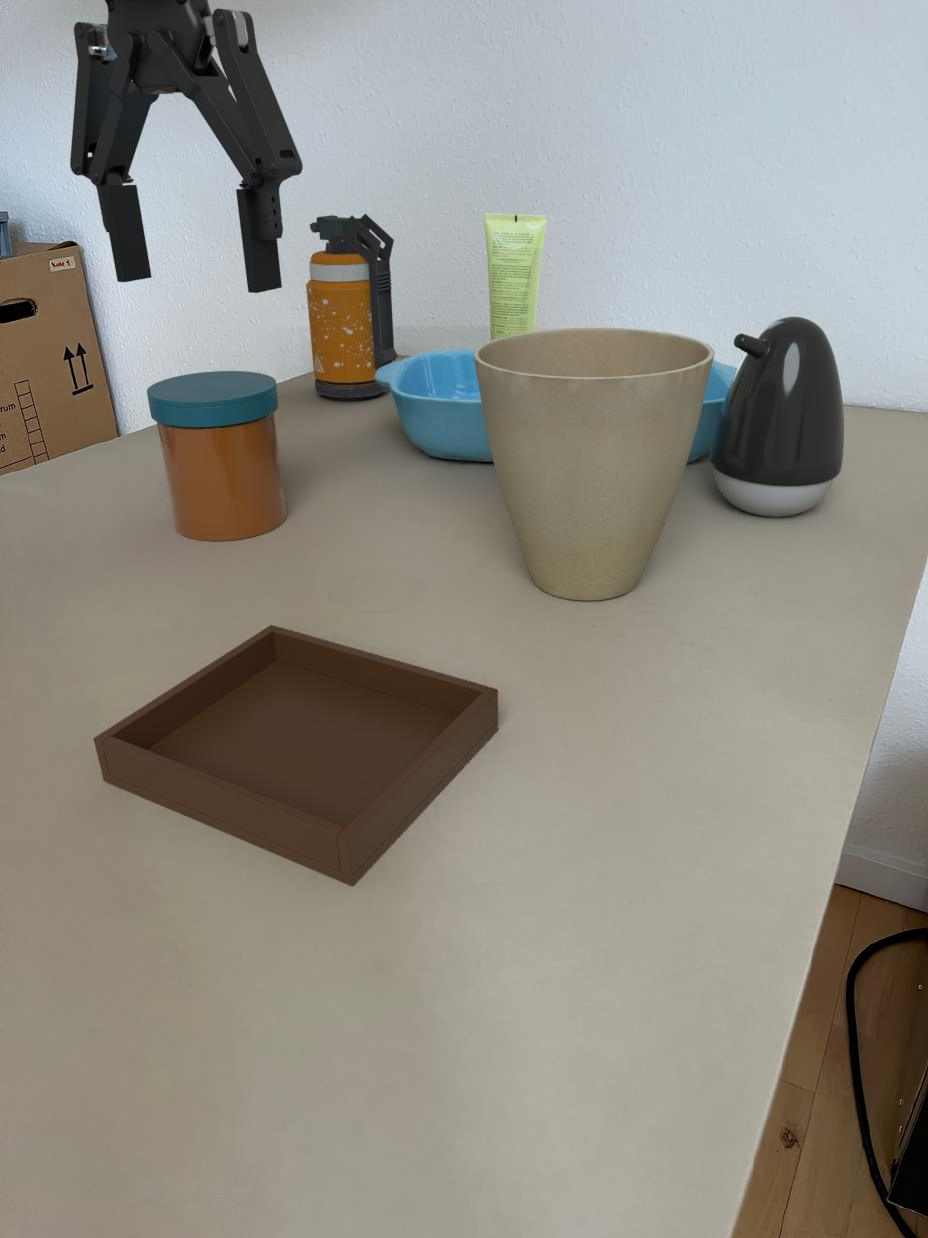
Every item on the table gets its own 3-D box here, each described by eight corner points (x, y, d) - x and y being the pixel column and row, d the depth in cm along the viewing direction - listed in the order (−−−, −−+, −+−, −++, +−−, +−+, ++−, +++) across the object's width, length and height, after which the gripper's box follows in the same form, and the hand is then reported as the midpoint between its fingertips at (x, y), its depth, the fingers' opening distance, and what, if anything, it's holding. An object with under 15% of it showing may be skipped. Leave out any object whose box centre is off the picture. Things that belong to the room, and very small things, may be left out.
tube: (526, 380, 117) (529, 210, 108) (543, 389, 113) (547, 213, 104) (484, 384, 116) (483, 212, 107) (500, 394, 112) (500, 216, 102)
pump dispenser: (678, 496, 80) (696, 312, 73) (776, 478, 84) (802, 301, 77) (756, 538, 72) (784, 335, 65) (860, 516, 76) (898, 321, 69)
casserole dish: (726, 411, 104) (733, 345, 100) (768, 478, 84) (779, 399, 81) (395, 409, 106) (392, 345, 103) (360, 474, 87) (355, 397, 83)
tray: (103, 781, 47) (92, 738, 45) (275, 662, 57) (270, 624, 55) (352, 887, 40) (348, 839, 39) (498, 730, 50) (498, 689, 49)
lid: (122, 417, 72) (118, 392, 71) (211, 388, 79) (208, 365, 78) (219, 434, 67) (215, 407, 66) (304, 402, 75) (301, 378, 74)
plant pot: (647, 530, 74) (663, 320, 66) (725, 616, 61) (756, 368, 53) (460, 546, 72) (455, 331, 64) (500, 638, 59) (500, 384, 51)
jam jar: (151, 528, 76) (126, 398, 71) (227, 494, 83) (210, 373, 78) (235, 549, 72) (216, 413, 67) (308, 511, 79) (295, 384, 74)
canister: (350, 380, 119) (338, 208, 109) (419, 392, 113) (412, 212, 104) (300, 396, 112) (282, 215, 103) (370, 409, 107) (358, 219, 97)
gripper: (-32, -65, 61) (43, 281, 71) (255, -114, 50) (295, 303, 60) (63, -50, 67) (120, 269, 77) (338, -91, 56) (363, 287, 66)
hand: (197, 284), depth 69 cm, fingers open, 12 cm apart
